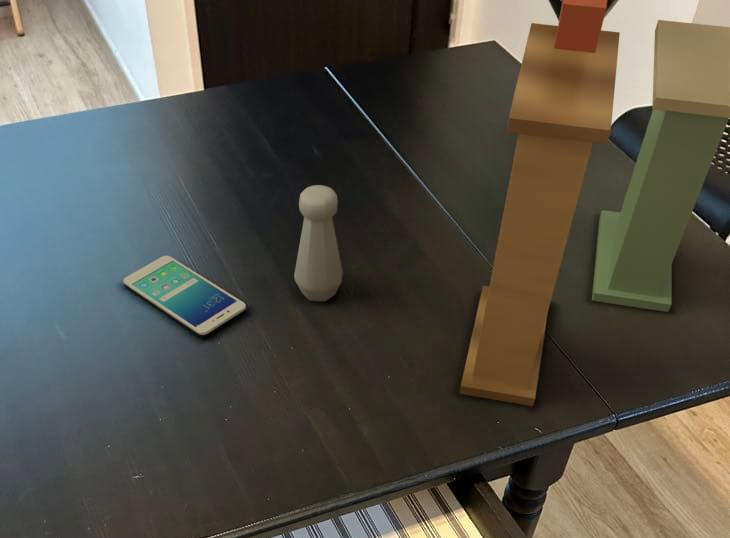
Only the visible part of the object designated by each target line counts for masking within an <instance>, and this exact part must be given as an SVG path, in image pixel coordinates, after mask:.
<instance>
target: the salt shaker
mask: <svg viewBox="0 0 730 538" xmlns="http://www.w3.org/2000/svg"><path fill="white" fill-rule="evenodd" d="M338 202H339V200H338V195H337V193H336V192H335V190H334V189H333V188H331V187H329V186H327V185H323V184H314V185H311V186H308V187H305V189H304V190H303V191H302V192H300V194H299V201H298V207H299V208H298V209H299V212H300V213H301V215H302V216H303V223H302V227H301V228H302V229H301V234H300V238H299V239H300V240H299V246H298V250H297V251H298V252H297V256H296V263H295V267H294V276H293V278H294V282H295V283H296V285H297V287H298V288H299V290H300V292H301V294H302V295H303V296H304V297H306V298H307V299H308V300H309V301H311V302H326V301H328V300H329V299H331V298H333V297H334V296H335V295H336V294H337V292H338V290H339V288H340V285H341V284H342V280H343V267H342V261H341V257H340V250H339V246H338V241H337V236H336V230H335V226H334V220H333V217H334V216H335V215H336V214H337V212H338V204H339V203H338Z"/></svg>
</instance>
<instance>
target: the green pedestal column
mask: <svg viewBox="0 0 730 538" xmlns="http://www.w3.org/2000/svg"><path fill="white" fill-rule="evenodd" d="M653 44H654V46H653V72H652V73H653V76H652V77H653V79H652V106H651V108H652V111H651V115H650V118H649V120H648V123H647V128H646V129H645V130H646V131H645V133H644V136H643V140H642V143H641V146H640V149H639V152H638V156H637V159H636V162H635V164H634V165H635V166H634V168H633V172H632V174H631V178H630V181H629V184H628V187H627V191H626V193H625V197H624V199H623V203H622V206H621V210H620V211H619V212H618V211H612V210H606V209H605V210H604V209H602V210H600V211H601V212H600V215H599V219H598V220H599V221H598V230H597V241H596V251H595V252H596V253H595V262H594V271H593V272H594V273H593V281H592V292H591V293H592V294H591V301H592V302H598V303H604V304H611V305H619V306H624V307H625V306H626V307H631V308H637V309H644V310H650V311H656V312H664V313H669V312H670V309H671V307H672V304H673V303H672V302H673V301H672V296H673V295H672V292H673V291H672V290H673V289H672V285H673V282H672V281H673V280H672V278H673V277H672V275H673V274H672V271H673V270H672V269H673V268H672V267H673V266H672V265H673V262H674V259H675V256H676V254H677V252H678V249H679V247H680V244H681V241H682V239H683V236H684V234H685V232H686V229H687V226H688V224H689V221H690V218H691V216H692V213H693V211H694V208H695V206H696V203H697V201H698V197H699V196H700V194H701V190H702V188H703V185H704V183H705V181H706V178H707V176H708V172H709V170H710V168H711V165H712V164H713V163H712V162H713V160H714V158H715V155H716V153H717V150H718V147H719V145H720V142H721V140H722V137H723V135H724V132H725V129H726V127H727V125H728V122H729V120H730V26H721V25H713V24H703V23H694V22H693V23H691V22H683V21H674V20H673V21H672V20H665V19H664V20H663V19H658V20H657V23H656V26H655V29H654V43H653Z"/></svg>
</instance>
